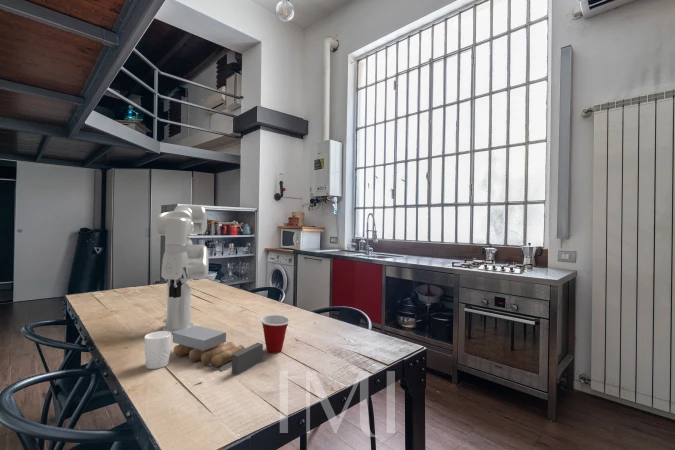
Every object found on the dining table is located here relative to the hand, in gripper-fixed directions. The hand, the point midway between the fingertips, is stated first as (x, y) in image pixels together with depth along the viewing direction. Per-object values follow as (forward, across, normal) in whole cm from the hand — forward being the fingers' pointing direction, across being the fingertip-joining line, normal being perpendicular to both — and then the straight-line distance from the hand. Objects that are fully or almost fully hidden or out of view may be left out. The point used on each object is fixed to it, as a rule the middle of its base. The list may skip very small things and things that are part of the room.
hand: (175, 296), depth 124 cm
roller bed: (+19, +17, 0) cm, 26 cm away
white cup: (+19, +10, -13) cm, 25 cm away
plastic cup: (+19, +36, +16) cm, 44 cm away
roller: (+17, +27, 0) cm, 32 cm away
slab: (+15, +14, 0) cm, 21 cm away
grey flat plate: (+19, +29, 0) cm, 35 cm away
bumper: (+19, +37, 0) cm, 42 cm away
